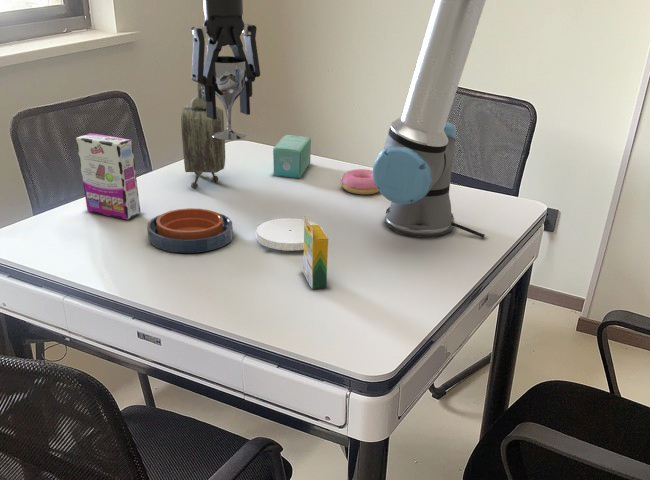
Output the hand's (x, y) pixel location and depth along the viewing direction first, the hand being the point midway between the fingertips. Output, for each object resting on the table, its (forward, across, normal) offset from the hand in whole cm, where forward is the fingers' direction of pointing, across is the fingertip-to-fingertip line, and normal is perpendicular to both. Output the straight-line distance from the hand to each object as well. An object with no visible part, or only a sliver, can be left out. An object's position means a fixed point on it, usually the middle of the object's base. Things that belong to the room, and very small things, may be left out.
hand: (228, 115), depth 152 cm
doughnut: (+22, -37, +2) cm, 43 cm away
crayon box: (+22, +6, +38) cm, 44 cm away
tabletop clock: (+22, -7, -23) cm, 33 cm away
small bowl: (+22, +14, +6) cm, 27 cm away
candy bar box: (+22, +21, -16) cm, 34 cm away
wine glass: (+4, 0, 0) cm, 4 cm away
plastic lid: (+22, -2, +20) cm, 30 cm away
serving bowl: (+22, +14, +6) cm, 27 cm away
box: (+22, -31, -20) cm, 43 cm away
